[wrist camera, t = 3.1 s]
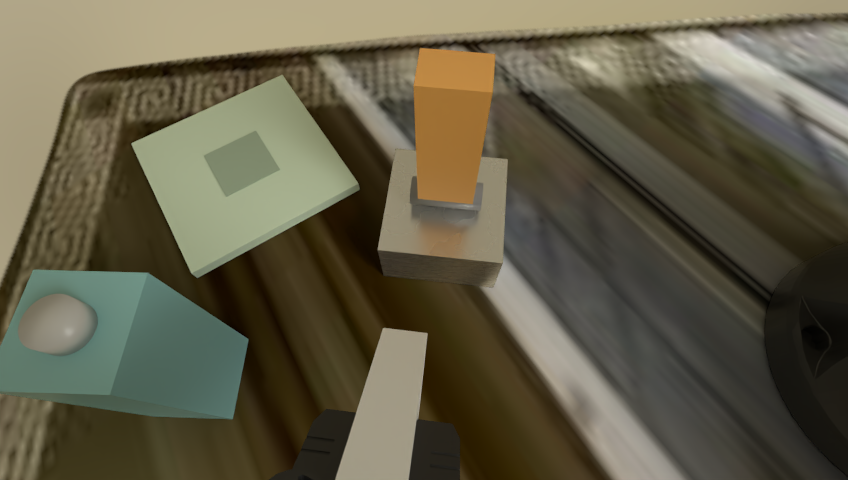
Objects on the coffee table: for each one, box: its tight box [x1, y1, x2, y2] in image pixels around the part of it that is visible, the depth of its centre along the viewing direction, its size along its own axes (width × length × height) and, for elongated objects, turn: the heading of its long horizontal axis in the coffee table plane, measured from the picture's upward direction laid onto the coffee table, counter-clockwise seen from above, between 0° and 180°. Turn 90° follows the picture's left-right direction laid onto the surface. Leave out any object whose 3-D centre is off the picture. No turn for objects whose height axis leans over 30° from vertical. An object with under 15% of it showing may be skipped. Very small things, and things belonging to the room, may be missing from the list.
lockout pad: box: [131, 75, 360, 278], centre depth 32 cm, size 12×12×1 cm
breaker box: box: [378, 149, 508, 287], centre depth 29 cm, size 7×7×4 cm
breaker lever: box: [410, 48, 495, 211], centre depth 22 cm, size 2×4×10 cm, turn 83°
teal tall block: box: [0, 270, 249, 419], centre depth 21 cm, size 4×4×12 cm
